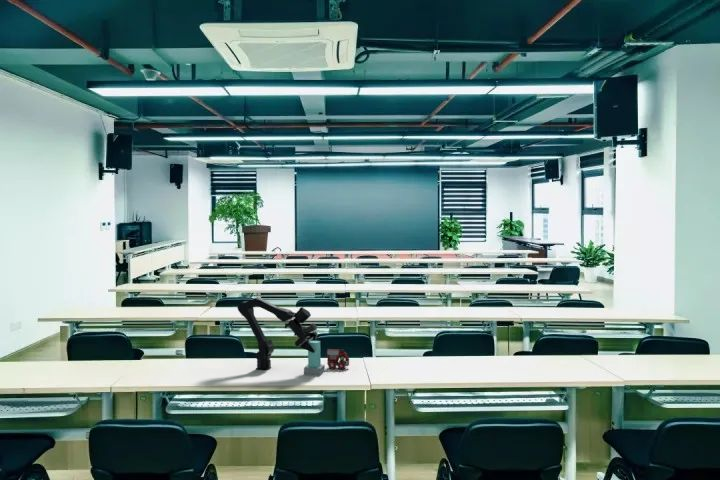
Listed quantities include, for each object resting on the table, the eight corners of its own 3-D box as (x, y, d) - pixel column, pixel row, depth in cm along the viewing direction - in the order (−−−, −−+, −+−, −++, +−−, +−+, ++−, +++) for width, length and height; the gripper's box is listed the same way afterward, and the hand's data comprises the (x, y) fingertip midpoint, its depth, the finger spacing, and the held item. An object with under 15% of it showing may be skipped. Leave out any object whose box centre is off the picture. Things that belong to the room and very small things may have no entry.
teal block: (308, 367, 329) (307, 342, 329) (311, 364, 334) (311, 340, 334) (317, 367, 328) (316, 342, 327) (320, 365, 333) (320, 341, 332)
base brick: (303, 375, 328) (303, 367, 327) (308, 371, 336) (308, 364, 336) (320, 376, 326) (320, 368, 326) (324, 372, 335) (324, 364, 335)
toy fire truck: (348, 370, 339) (348, 350, 339) (325, 369, 341) (325, 350, 340) (349, 367, 346) (350, 348, 346) (327, 366, 347) (327, 347, 347)
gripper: (300, 321, 323) (320, 344, 320) (314, 316, 341) (333, 338, 337) (286, 335, 326) (305, 358, 322) (301, 330, 343) (319, 351, 340)
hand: (316, 351), depth 331 cm, fingers open, 7 cm apart
